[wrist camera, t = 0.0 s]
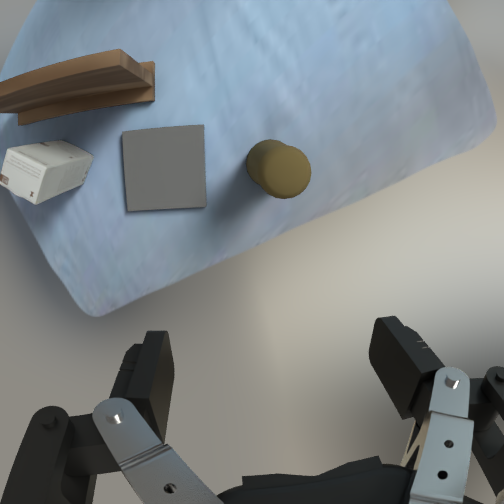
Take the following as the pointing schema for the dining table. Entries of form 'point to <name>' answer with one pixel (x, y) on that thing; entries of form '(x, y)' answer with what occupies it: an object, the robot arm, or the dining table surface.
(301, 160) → the olive stepped cylinder
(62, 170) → the skincare box
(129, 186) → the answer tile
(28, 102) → the walnut screen
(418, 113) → the dining table surface
